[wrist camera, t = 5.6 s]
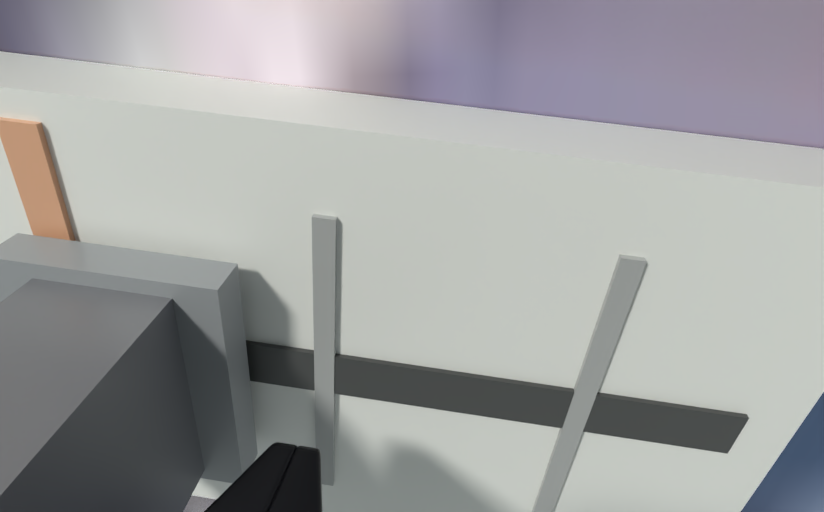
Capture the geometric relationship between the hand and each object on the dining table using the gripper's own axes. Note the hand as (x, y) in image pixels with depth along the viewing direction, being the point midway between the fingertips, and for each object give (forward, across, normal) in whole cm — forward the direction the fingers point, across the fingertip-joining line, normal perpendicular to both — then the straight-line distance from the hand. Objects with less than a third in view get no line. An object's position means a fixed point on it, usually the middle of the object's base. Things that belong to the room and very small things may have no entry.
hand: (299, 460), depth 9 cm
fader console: (+4, +1, 0) cm, 4 cm away
